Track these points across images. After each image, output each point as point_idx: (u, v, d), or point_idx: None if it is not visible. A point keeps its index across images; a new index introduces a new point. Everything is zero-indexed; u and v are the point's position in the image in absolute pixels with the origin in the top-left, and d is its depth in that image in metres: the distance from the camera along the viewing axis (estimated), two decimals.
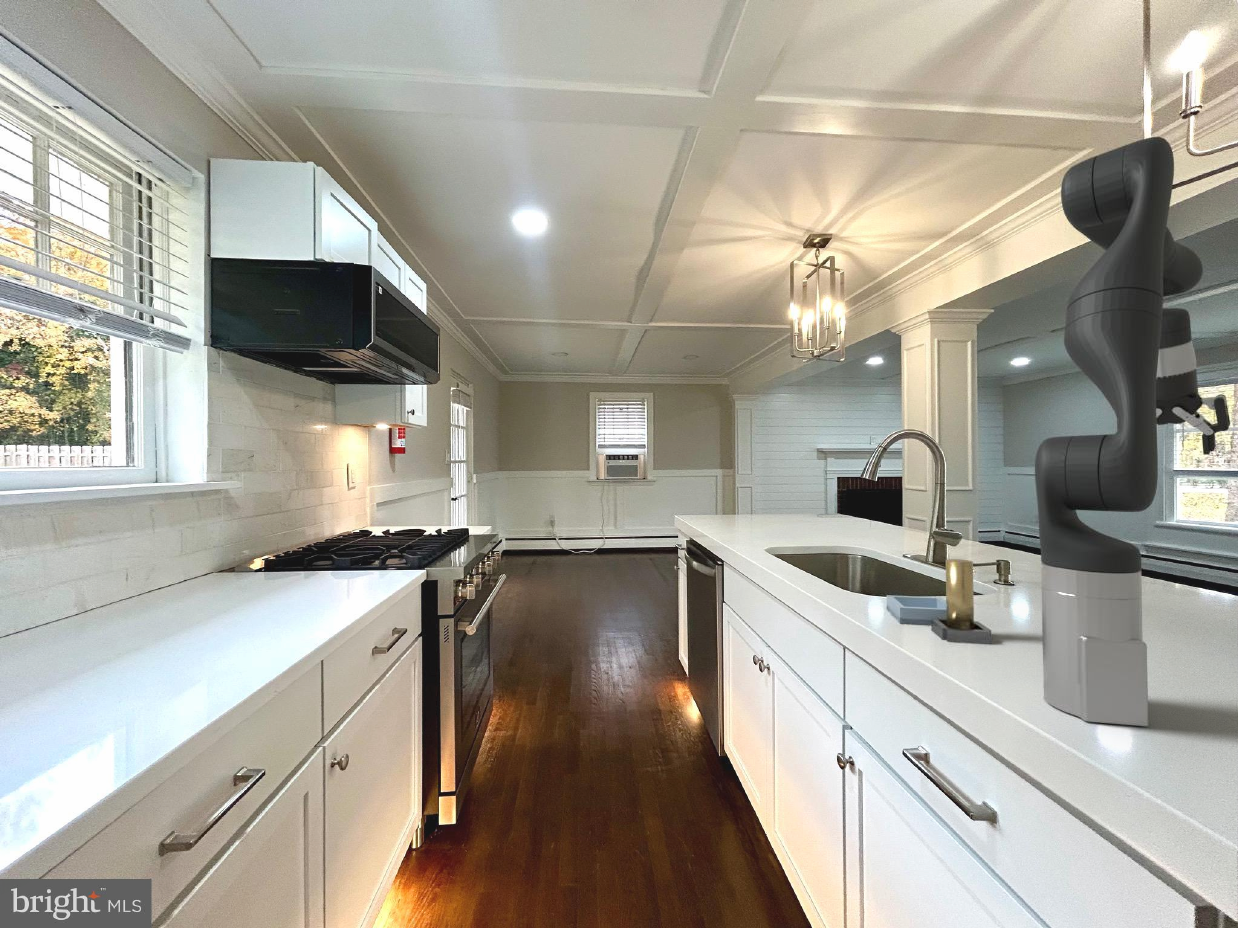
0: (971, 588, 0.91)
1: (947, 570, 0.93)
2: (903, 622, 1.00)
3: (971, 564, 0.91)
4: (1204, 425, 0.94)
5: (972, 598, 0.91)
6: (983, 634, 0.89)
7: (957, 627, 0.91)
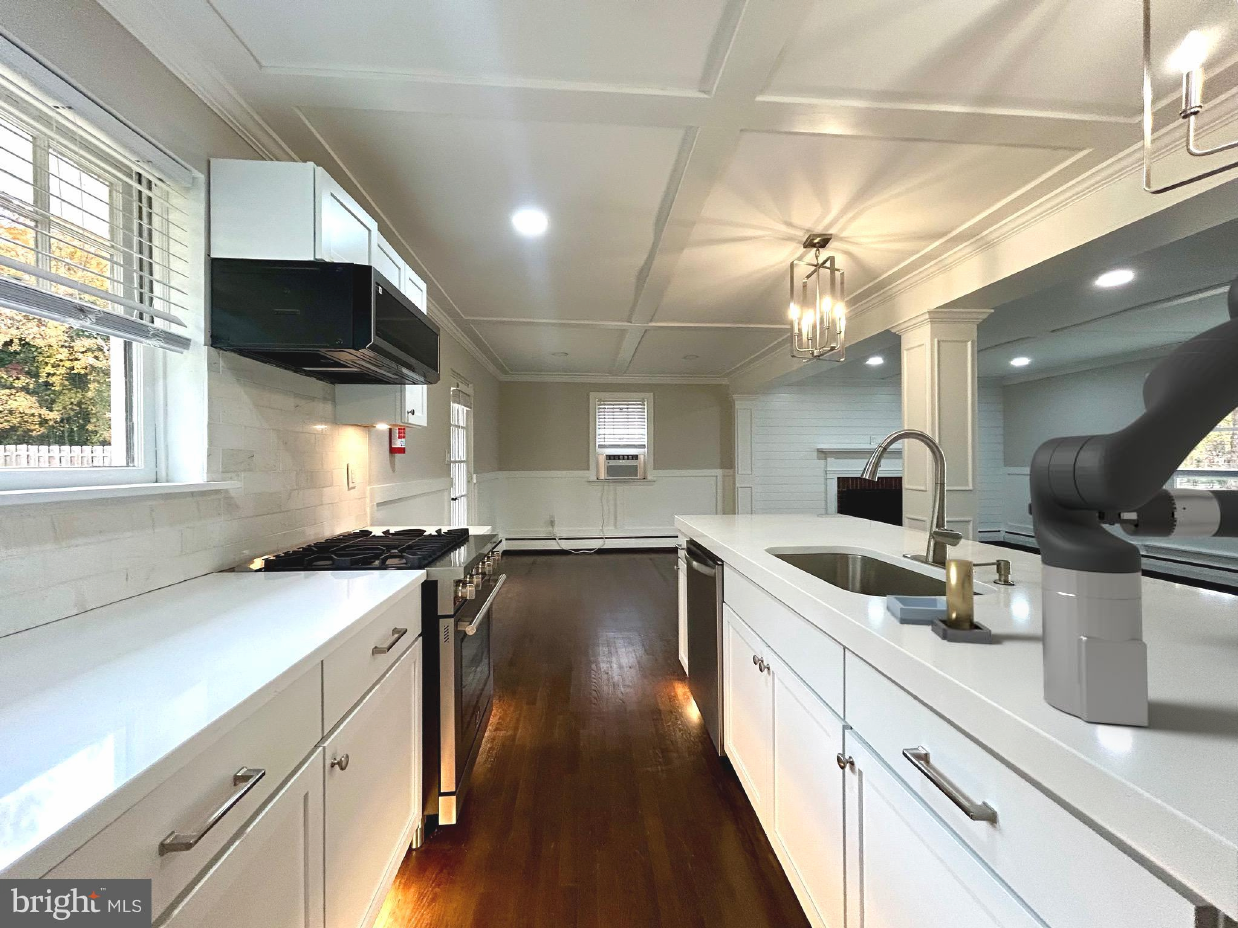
0: (971, 588, 0.91)
1: (947, 570, 0.93)
2: (903, 622, 1.00)
3: (971, 564, 0.91)
4: None
5: (972, 598, 0.91)
6: (983, 634, 0.89)
7: (957, 627, 0.91)
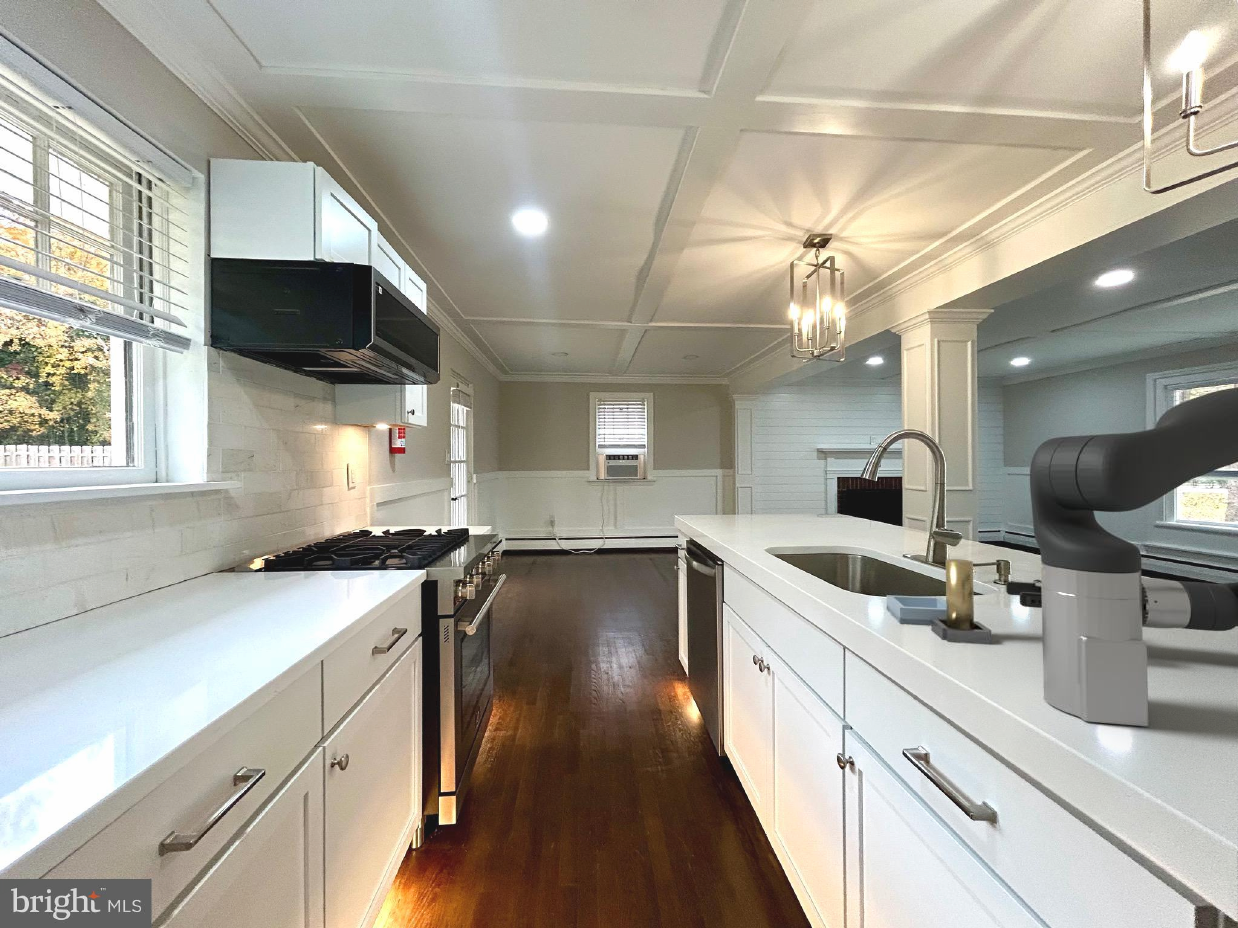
0: (971, 588, 0.91)
1: (947, 570, 0.93)
2: (903, 622, 1.00)
3: (971, 564, 0.91)
4: None
5: (972, 598, 0.91)
6: (983, 634, 0.89)
7: (957, 627, 0.91)
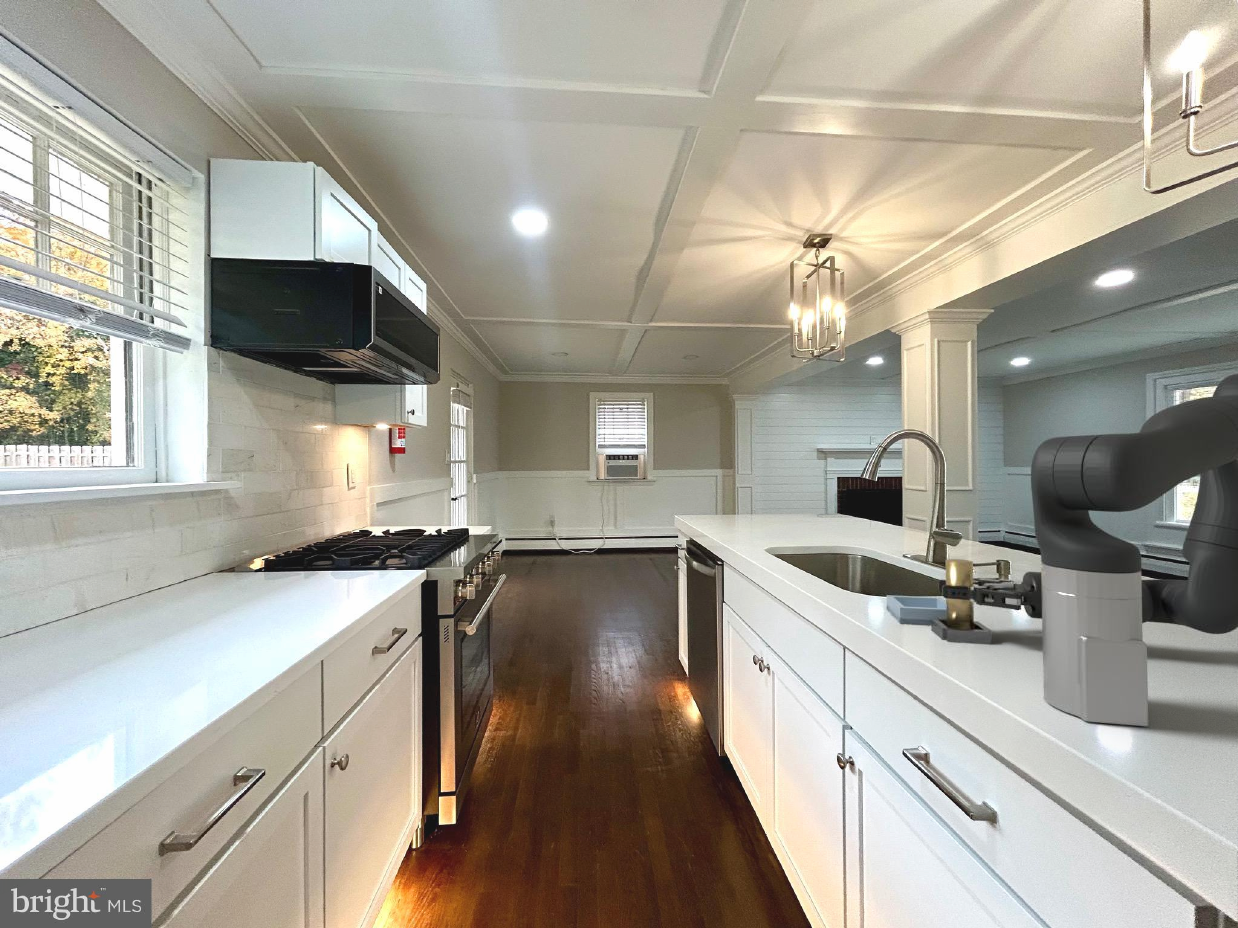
0: None
1: (947, 570, 0.93)
2: (903, 622, 1.00)
3: (971, 564, 0.91)
4: (982, 587, 0.89)
5: None
6: (983, 634, 0.89)
7: (957, 627, 0.91)
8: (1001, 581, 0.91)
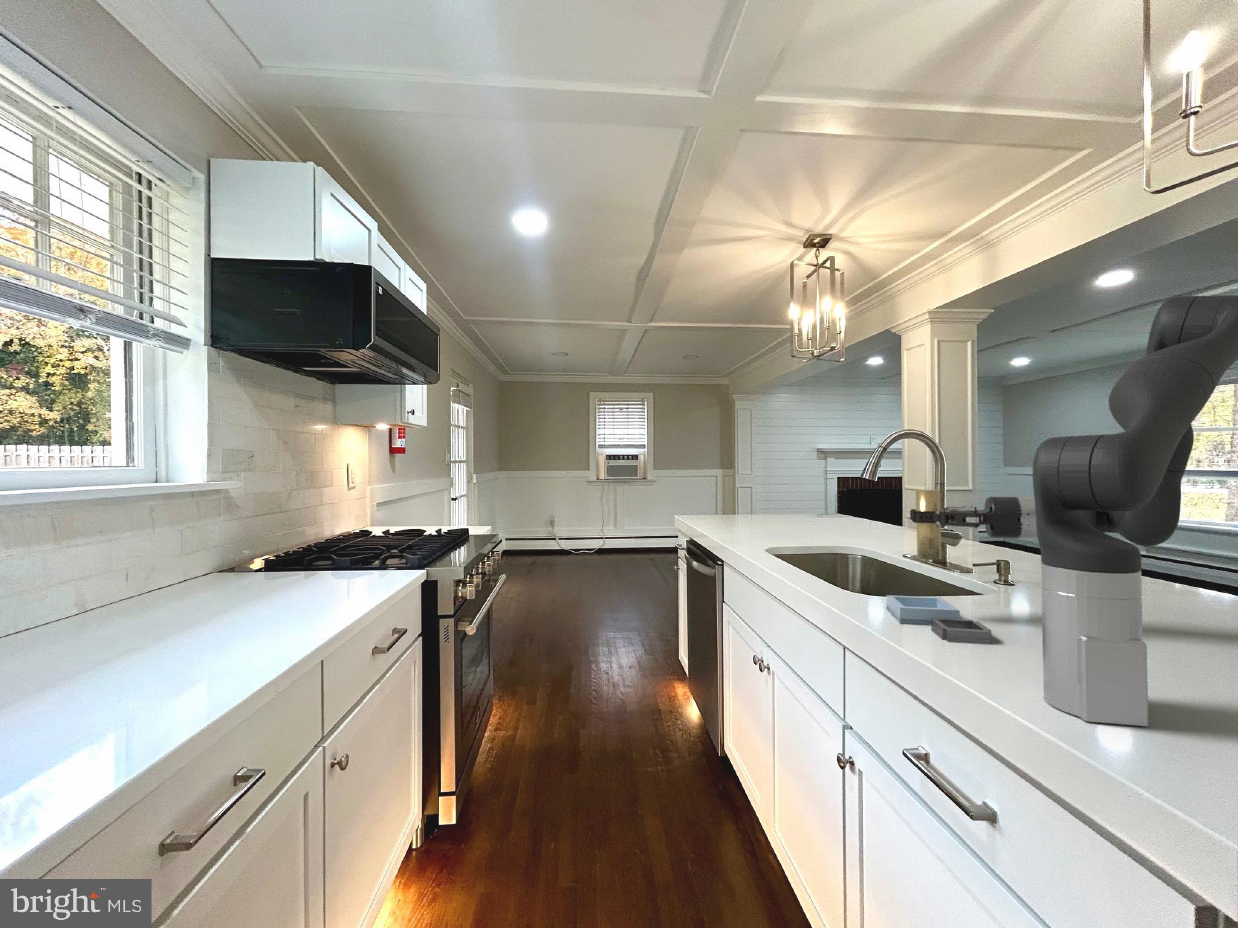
0: None
1: (917, 498, 1.03)
2: (903, 622, 1.00)
3: (938, 492, 1.01)
4: (947, 511, 0.99)
5: None
6: (983, 634, 0.89)
7: (925, 549, 1.01)
8: (965, 507, 1.01)
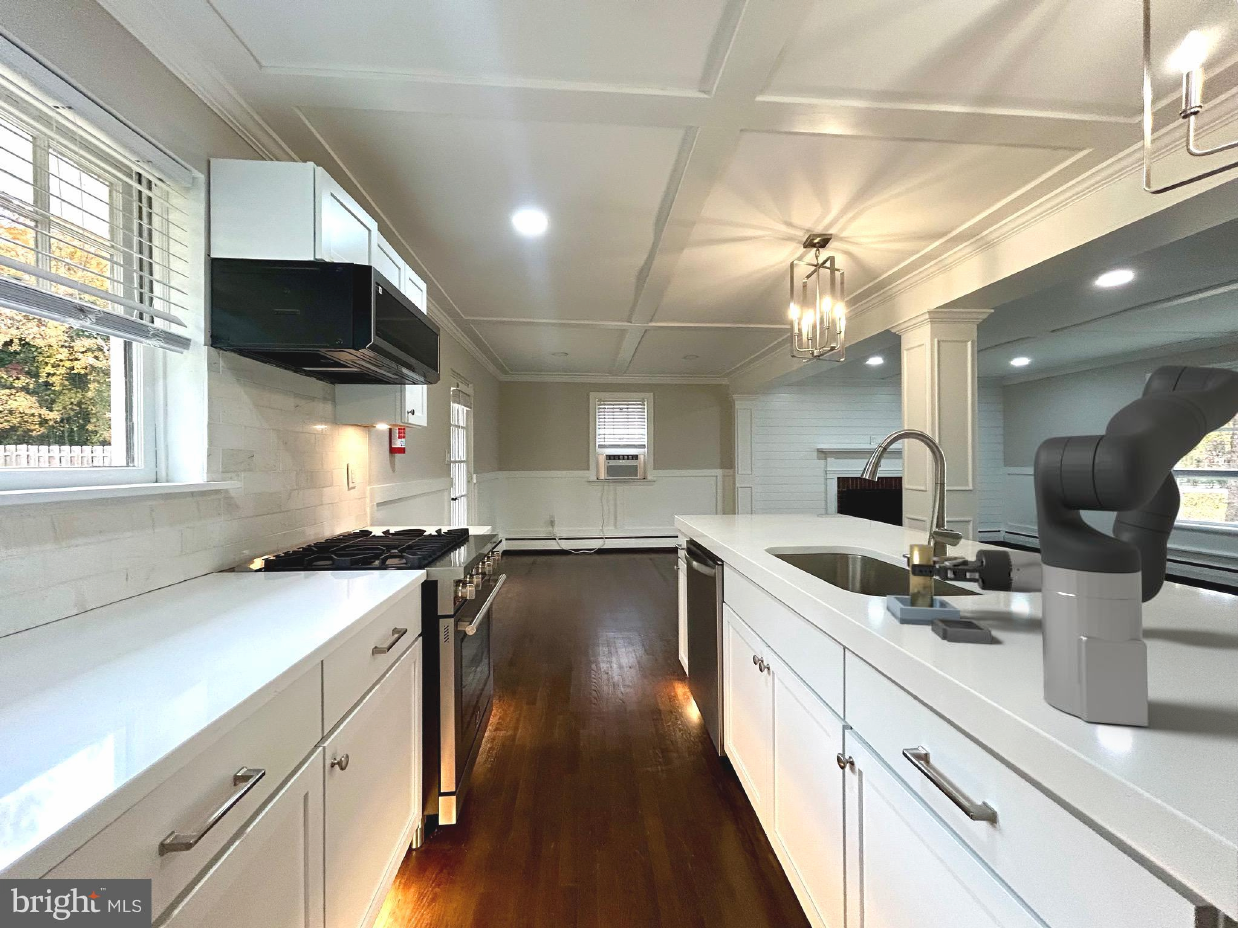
0: None
1: (910, 554, 1.04)
2: (903, 622, 1.00)
3: (931, 548, 1.02)
4: (945, 565, 0.99)
5: (932, 578, 1.03)
6: (983, 634, 0.89)
7: (918, 604, 1.03)
8: (956, 558, 1.03)
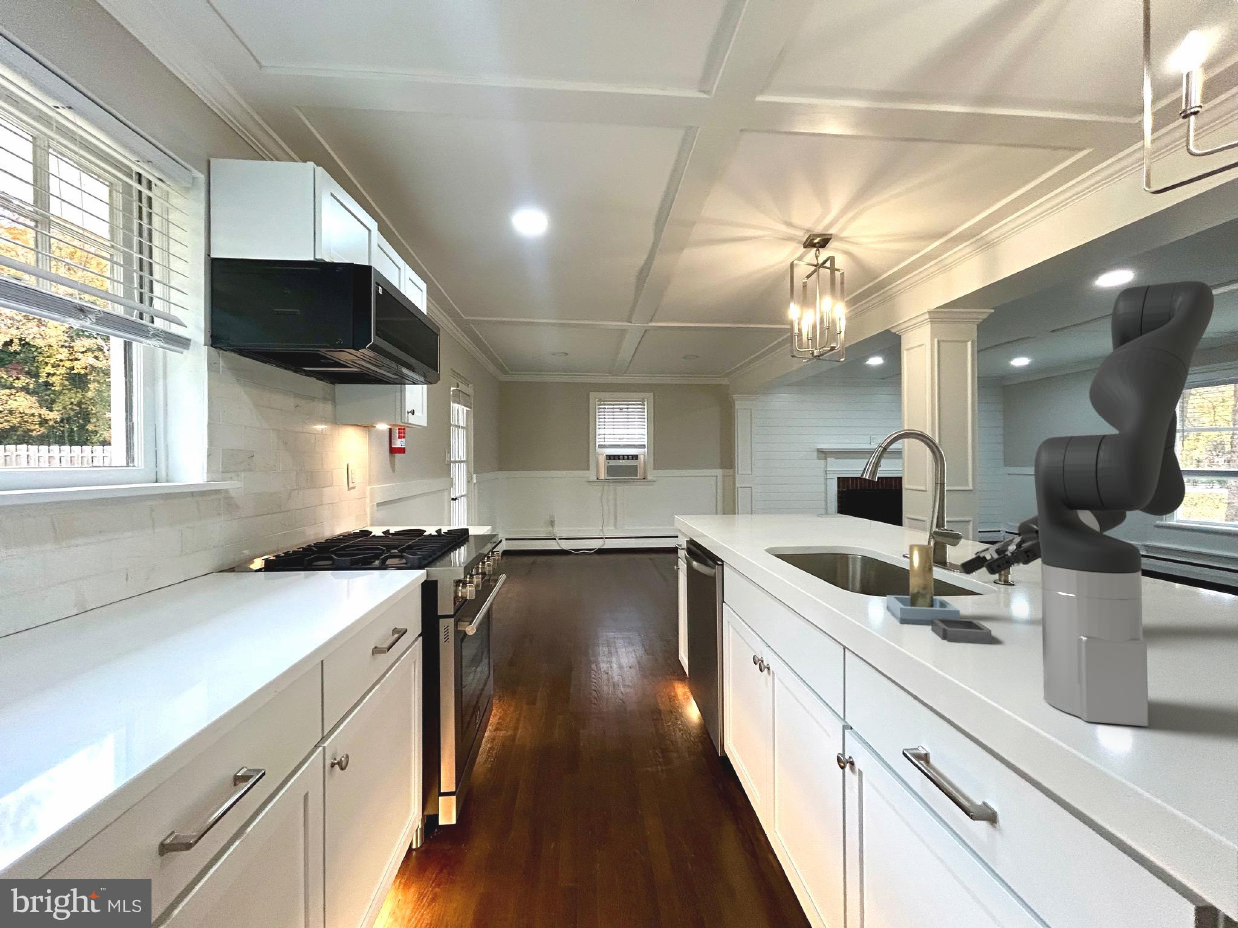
0: (931, 569, 1.03)
1: (910, 554, 1.04)
2: (903, 622, 1.00)
3: (931, 548, 1.03)
4: (1014, 549, 0.92)
5: (932, 578, 1.03)
6: (983, 634, 0.89)
7: (918, 604, 1.03)
8: (1006, 541, 0.98)
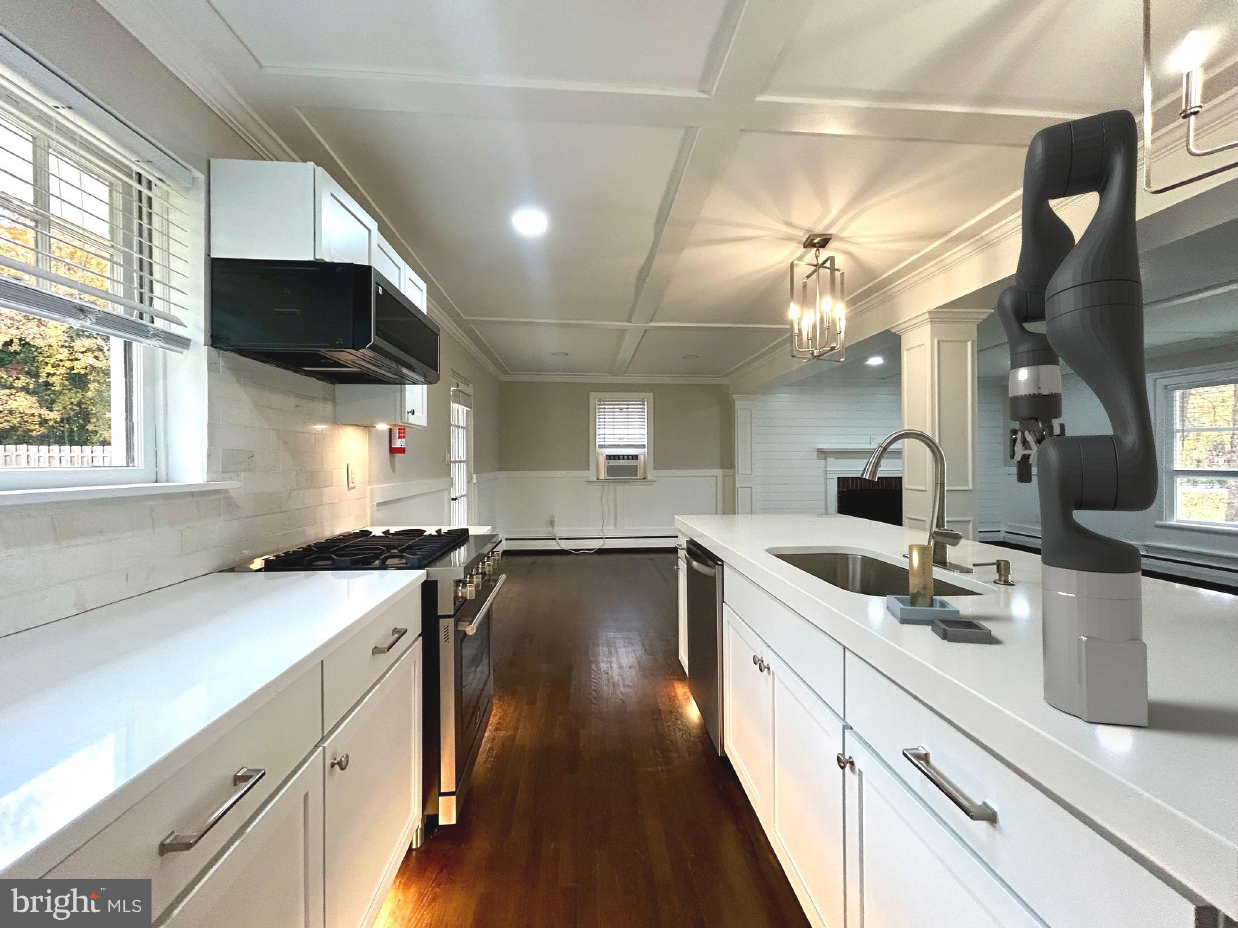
0: (930, 569, 1.03)
1: (910, 554, 1.04)
2: (903, 622, 1.00)
3: (930, 548, 1.03)
4: None
5: (931, 578, 1.03)
6: (983, 634, 0.89)
7: (918, 604, 1.03)
8: (1021, 439, 0.98)
